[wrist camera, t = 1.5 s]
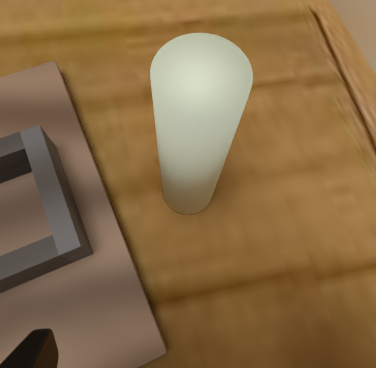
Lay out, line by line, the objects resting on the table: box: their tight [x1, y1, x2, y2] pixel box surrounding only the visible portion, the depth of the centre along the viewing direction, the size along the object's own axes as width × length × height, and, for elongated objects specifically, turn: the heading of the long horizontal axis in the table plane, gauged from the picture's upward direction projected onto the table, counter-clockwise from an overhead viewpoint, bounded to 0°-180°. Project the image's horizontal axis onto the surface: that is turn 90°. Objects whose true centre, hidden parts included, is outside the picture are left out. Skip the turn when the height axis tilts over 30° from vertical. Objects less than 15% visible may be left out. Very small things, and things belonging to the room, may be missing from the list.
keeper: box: [0, 61, 167, 368], centre depth 20 cm, size 22×12×4 cm, turn 24°
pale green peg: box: [150, 33, 253, 215], centre depth 18 cm, size 4×4×13 cm
